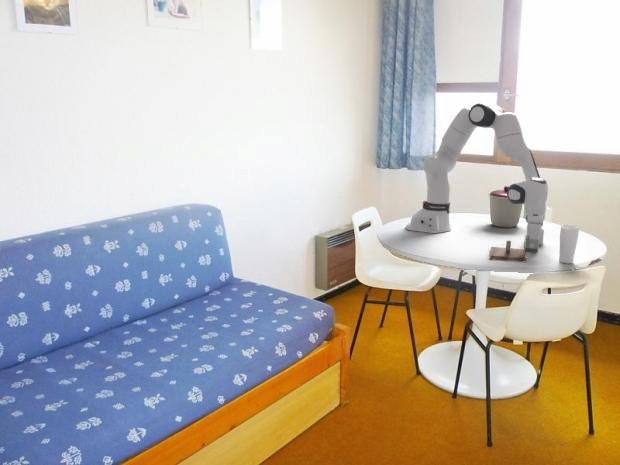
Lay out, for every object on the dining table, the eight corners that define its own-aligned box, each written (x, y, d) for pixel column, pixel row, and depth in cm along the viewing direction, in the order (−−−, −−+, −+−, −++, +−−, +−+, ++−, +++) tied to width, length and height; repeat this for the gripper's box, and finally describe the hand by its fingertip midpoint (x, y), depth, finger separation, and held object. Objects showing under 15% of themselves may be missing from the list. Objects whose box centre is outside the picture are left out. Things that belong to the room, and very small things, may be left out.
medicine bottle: (541, 241, 264) (544, 216, 261) (542, 245, 258) (545, 219, 255) (525, 239, 266) (527, 215, 263) (525, 243, 260) (528, 218, 257)
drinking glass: (554, 259, 236) (557, 225, 232) (569, 259, 236) (573, 224, 233) (562, 264, 229) (566, 229, 226) (578, 264, 230) (582, 228, 226)
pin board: (490, 258, 237) (491, 244, 236) (490, 249, 250) (491, 235, 249) (525, 261, 233) (526, 246, 232) (524, 252, 246) (525, 238, 244)
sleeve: (524, 251, 248) (525, 238, 247) (524, 248, 253) (525, 235, 251) (537, 252, 246) (539, 239, 245) (537, 248, 251) (538, 236, 250)
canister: (480, 226, 293) (483, 186, 287) (494, 220, 306) (497, 181, 300) (514, 231, 281) (518, 190, 276) (527, 225, 294) (531, 185, 289)
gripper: (525, 209, 256) (522, 238, 260) (527, 219, 237) (524, 250, 241) (540, 210, 254) (537, 239, 258) (543, 220, 235) (540, 251, 239)
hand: (531, 245), depth 249 cm, fingers closed on sleeve, 5 cm apart
